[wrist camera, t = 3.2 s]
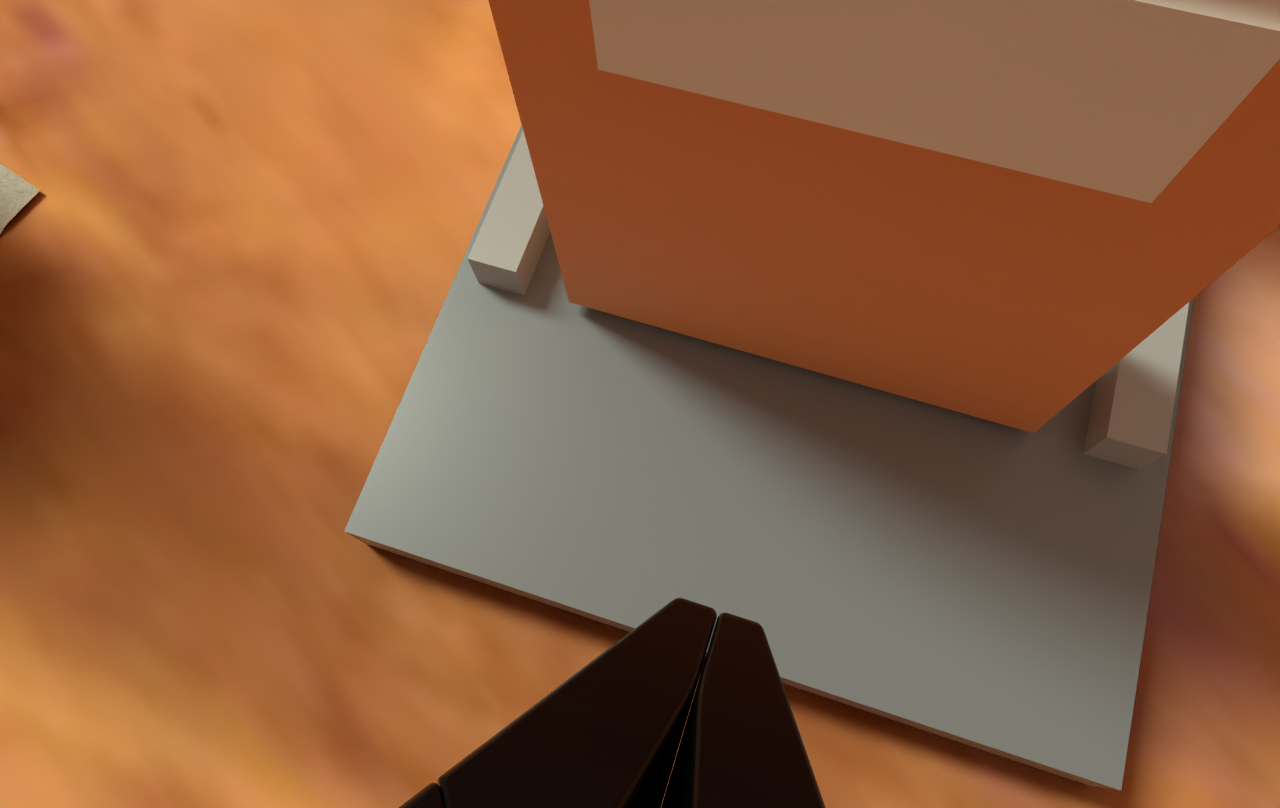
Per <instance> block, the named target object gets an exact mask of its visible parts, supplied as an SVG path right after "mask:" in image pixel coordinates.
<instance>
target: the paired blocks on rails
mask: <svg viewBox="0 0 1280 808" xmlns="http://www.w3.org/2000/svg"><path fill="white" fill-rule="evenodd" d="M1193 303H1194V298H1193V299H1192V300H1191V301H1190V302H1188V303H1187V304H1186V305H1185V306H1184V307H1182V308H1181V309H1180V310H1179V311H1178V312H1177V313H1175V314H1174V315H1173V316H1172V317H1171V318H1169V319H1168V320H1167V321H1166V322H1165V323H1164V324H1162V325H1161V326H1160V327H1159V328H1158V329H1156V330H1155V331H1154V332H1153V333H1152V334H1151V335H1149V336H1148V337H1147V338H1146V339H1145V340H1143V341H1142V342H1141V343H1140V344H1139V345H1138V346H1136V347H1135V348H1134V349H1133V350H1132V351H1130V352H1129V353H1128V354H1127V355H1126V356H1125V357H1123V358H1122V359H1121V360H1120V361H1119V362H1117V363H1116V364H1115V365H1114V366H1113V367H1112V368H1110V369H1109V370H1108V371H1107V372H1106V373H1104V374H1103V375H1102V376H1101V377H1100V378H1099V379H1097V380H1096V381H1095V382H1094V383H1093V384H1091V385H1090V386H1089V387H1088V388H1087V389H1086V390H1084V391H1083V392H1082V393H1081V394H1080V395H1078V396H1077V397H1076V398H1075V399H1074V400H1073V401H1071V402H1070V403H1069V404H1068V405H1067V406H1065V407H1064V408H1063V409H1062V410H1061V411H1060V412H1058V413H1057V414H1056V415H1055V416H1054V417H1052V418H1051V419H1050V420H1049V421H1048V422H1047V423H1045V424H1044V425H1043V426H1042V427H1041V428H1039V429H1038V430H1037V431H1036V432H1035V433H1031V432H1028V431H1024V430H1020V429H1017V428H1013V427H1010V426H1006V425H1003V424H999V423H996V422H992V421H989V420H985V419H981V418H978V417H974V416H971V415H967V414H964V413H960V412H957V411H953V410H950V409H946V408H942V407H939V406H935V405H932V404H928V403H925V402H921V401H918V400H914V399H911V398H907V397H904V396H900V395H896V394H893V393H889V392H886V391H882V390H879V389H875V388H872V387H868V386H865V385H861V384H857V383H854V382H850V381H847V380H843V379H840V378H836V377H833V376H829V375H826V374H822V373H818V372H815V371H811V370H808V369H804V368H801V367H797V366H794V365H790V364H787V363H783V362H779V361H776V360H772V359H769V358H765V357H762V356H758V355H755V354H751V353H748V352H744V351H741V350H737V349H733V348H730V347H726V346H723V345H719V344H716V343H712V342H709V341H705V340H702V339H698V338H694V337H691V336H687V335H684V334H680V333H677V332H673V331H670V330H666V329H663V328H659V327H655V326H652V325H648V324H645V323H641V322H638V321H634V320H631V319H627V318H624V317H620V316H616V315H613V314H609V313H606V312H602V311H599V310H595V309H592V308H588V307H585V306H581V305H578V304H574V303H570V302H569V299H568V295H567V291H566V288H565V284H564V280H563V277H562V273H561V269H560V265H559V262H558V258H557V254H556V250H555V247H554V243H553V239H552V235H551V232H550V228H549V224H548V220H547V217H546V213H545V209H544V206H543V202H542V198H541V194H540V191H539V187H538V183H537V179H536V176H535V172H534V168H533V164H532V161H531V157H530V153H529V149H528V146H527V142H526V138H525V135H524V131H523V127H522V125H521V128H520V130H519V132H518V135H517V137H516V139H515V141H514V144H513V146H512V148H511V151H510V153H509V155H508V157H507V160H506V162H505V164H504V167H503V169H502V171H501V173H500V176H499V178H498V180H497V183H496V185H495V187H494V190H493V192H492V194H491V196H490V199H489V201H488V203H487V206H486V208H485V210H484V212H483V215H482V217H481V219H480V222H479V224H478V226H477V228H476V231H475V233H474V235H473V238H472V240H471V242H470V244H469V247H468V249H467V251H466V254H465V256H464V258H463V260H462V263H461V265H460V267H459V270H458V272H457V274H456V277H455V279H454V281H453V283H452V286H451V288H450V290H449V293H448V295H447V297H446V299H445V302H444V304H443V306H442V309H441V311H440V313H439V315H438V318H437V320H436V322H435V325H434V327H433V329H432V331H431V334H430V336H429V338H428V341H427V343H426V345H425V347H424V350H423V352H422V354H421V357H420V359H419V361H418V363H417V366H416V368H415V370H414V373H413V375H412V377H411V380H410V382H409V384H408V386H407V389H406V391H405V393H404V396H403V398H402V400H401V402H400V405H399V407H398V409H397V412H396V414H395V416H394V418H393V421H392V423H391V425H390V428H389V430H388V432H387V434H386V437H385V439H384V441H383V444H382V446H381V448H380V450H379V453H378V455H377V457H376V460H375V462H374V464H373V467H372V469H371V471H370V473H369V476H368V478H367V480H366V483H365V485H364V487H363V489H362V492H361V494H360V496H359V499H358V501H357V503H356V505H355V508H354V510H353V512H352V515H351V517H350V519H349V521H348V524H347V526H346V528H345V532H346V533H348V534H350V535H351V536H353V537H355V538H357V539H358V540H360V541H362V542H363V543H365V544H368V545H371V546H374V547H377V548H380V549H383V550H386V551H389V552H392V553H395V554H398V555H401V556H404V557H407V558H410V559H413V560H416V561H419V562H422V563H425V564H428V565H431V566H434V567H437V568H440V569H443V570H446V571H449V572H452V573H455V574H457V575H460V576H463V577H466V578H469V579H472V580H475V581H478V582H481V583H484V584H487V585H490V586H493V587H496V588H499V589H502V590H505V591H508V592H511V593H514V594H517V595H520V596H523V597H526V598H529V599H532V600H535V601H538V602H541V603H544V604H547V605H550V606H553V607H556V608H559V609H562V610H565V611H568V612H571V613H574V614H577V615H580V616H583V617H586V618H589V619H592V620H595V621H598V622H601V623H604V624H607V625H610V626H613V627H616V628H619V629H622V630H625V631H628V632H631V631H633V630H634V629H635V628H637V627H638V626H639V625H640V624H642V623H643V622H644V621H646V620H647V619H648V618H650V617H651V616H652V615H654V614H655V613H656V612H658V611H659V610H660V609H662V608H663V607H664V606H665V605H667V604H668V603H669V602H671V601H672V600H674V599H676V598H684V599H687V600H690V601H693V602H696V603H699V604H702V605H705V606H708V607H711V608H713V609H714V610H715V611H716V613H717V618H718V616H719V615H720V614H721V613H724V612H726V613H730V614H733V615H736V616H739V617H742V618H745V619H748V620H751V621H754V622H757V623H759V624H760V625H761V626H762V627H763V629H764V632H765V635H766V637H767V640H768V643H769V646H770V649H771V652H772V655H773V658H774V661H775V663H776V666H777V669H778V672H779V675H780V678H781V681H782V683H783V684H786V685H789V686H792V687H795V688H798V689H801V690H804V691H807V692H810V693H813V694H816V695H819V696H822V697H825V698H828V699H831V700H834V701H837V702H840V703H843V704H846V705H849V706H852V707H855V708H858V709H861V710H864V711H867V712H870V713H873V714H876V715H879V716H882V717H885V718H888V719H891V720H894V721H897V722H900V723H903V724H906V725H909V726H912V727H915V728H918V729H921V730H924V731H927V732H930V733H933V734H936V735H939V736H942V737H945V738H948V739H951V740H954V741H957V742H960V743H963V744H966V745H969V746H971V747H974V748H977V749H980V750H983V751H986V752H989V753H992V754H995V755H998V756H1001V757H1004V758H1007V759H1010V760H1013V761H1016V762H1019V763H1022V764H1025V765H1028V766H1031V767H1034V768H1037V769H1040V770H1043V771H1046V772H1049V773H1052V774H1055V775H1058V776H1061V777H1064V778H1067V779H1070V780H1073V781H1076V782H1079V783H1082V784H1085V785H1088V786H1092V787H1099V788H1106V789H1113V790H1121V789H1122V782H1123V776H1124V769H1125V762H1126V755H1127V749H1128V742H1129V735H1130V728H1131V722H1132V715H1133V708H1134V701H1135V695H1136V688H1137V681H1138V674H1139V668H1140V661H1141V654H1142V647H1143V641H1144V634H1145V627H1146V620H1147V614H1148V607H1149V600H1150V593H1151V587H1152V580H1153V573H1154V566H1155V560H1156V553H1157V546H1158V539H1159V533H1160V526H1161V519H1162V512H1163V506H1164V499H1165V492H1166V485H1167V479H1168V472H1169V465H1170V458H1171V452H1172V445H1173V438H1174V431H1175V425H1176V418H1177V411H1178V404H1179V398H1180V391H1181V384H1182V377H1183V371H1184V364H1185V357H1186V350H1187V344H1188V337H1189V330H1190V323H1191V317H1192V310H1193ZM716 621H717V619H716ZM715 624H716V622H715ZM714 627H715V625H714ZM713 631H714V629H713ZM712 634H713V632H712ZM711 638H712V636H711ZM710 641H711V639H710ZM709 644H710V642H709ZM708 648H709V646H708ZM707 651H708V649H707ZM706 654H707V652H706ZM705 657H706V656H705Z"/></svg>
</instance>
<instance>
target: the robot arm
mask: <svg viewBox="0 0 1280 808" xmlns="http://www.w3.org/2000/svg"><path fill="white" fill-rule="evenodd" d="M716 619H717V621H716ZM715 622H716V624H715ZM714 625H715V627H714ZM713 629H714V631H713ZM712 632H713V634H712ZM711 636H712V638H711ZM710 639H711V641H710ZM709 642H710V644H709ZM708 646H709V648H708ZM707 649H708V651H707ZM706 652H707V654H706ZM705 656H706V658H705ZM704 659H705V661H704ZM703 663H704V665H703ZM702 666H703V668H702ZM701 669H702V671H701ZM700 673H701V675H700ZM699 676H700V678H699ZM698 679H699V681H698ZM697 683H698V685H697ZM696 686H697V688H696ZM695 690H696V692H695ZM694 693H695V695H694ZM693 696H694V698H693ZM692 700H693V702H692ZM691 703H692V705H691ZM690 707H691V708H690ZM689 710H690V712H689ZM688 713H689V715H688ZM687 717H688V719H687ZM686 720H687V722H686ZM685 723H686V725H685ZM684 727H685V729H684ZM683 730H684V732H683ZM682 734H683V736H682ZM681 737H682V739H681ZM680 740H681V742H680ZM679 744H680V746H679ZM678 747H679V749H678ZM677 750H678V752H677ZM676 754H677V756H676ZM675 757H676V759H675ZM674 761H675V763H674ZM673 764H674V766H673ZM672 767H673V769H672ZM671 771H672V773H671ZM670 774H671V776H670ZM669 777H670V779H669ZM668 781H669V783H668ZM667 784H668V786H667ZM666 788H667V790H666ZM665 791H666V793H665ZM664 794H665V796H664ZM663 798H664V800H663ZM662 801H663V803H662ZM661 804H662V807H661ZM399 808H825V805H824V802H823V799H822V796H821V793H820V791H819V788H818V785H817V782H816V779H815V776H814V773H813V770H812V767H811V765H810V762H809V759H808V756H807V753H806V750H805V747H804V744H803V741H802V739H801V736H800V733H799V730H798V727H797V724H796V721H795V718H794V715H793V713H792V710H791V707H790V704H789V701H788V698H787V695H786V692H785V689H784V687H783V684H782V681H781V678H780V675H779V672H778V669H777V666H776V663H775V661H774V658H773V655H772V652H771V649H770V646H769V643H768V640H767V637H766V635H765V632H764V629H763V627H762V626H761V625H760V624H759V623H757V622H754V621H751V620H748V619H745V618H742V617H739V616H736V615H733V614H730V613H726V612H724V613H721V614H720V615H719V616H718V618H717V613H716V611H715V610H714V609H713V608H711V607H708V606H705V605H702V604H699V603H696V602H693V601H690V600H687V599H684V598H676V599H674V600H672V601H671V602H669V603H668V604H667V605H665V606H664V607H663V608H662V609H660V610H659V611H658V612H656V613H655V614H654V615H652V616H651V617H650V618H648V619H647V620H646V621H644V622H643V623H642V624H640V625H639V626H638V627H637V628H635V629H634V630H633V631H631V632H630V633H629V634H627V635H626V636H625V637H623V638H622V639H621V640H619V641H618V642H617V643H615V644H614V645H613V646H612V647H610V648H609V649H608V650H606V651H605V652H604V653H602V654H601V655H600V656H598V657H597V658H596V659H594V660H593V661H592V662H591V663H589V664H588V665H587V666H585V667H584V668H583V669H581V670H580V671H579V672H577V673H576V674H575V675H573V676H572V677H571V678H569V679H568V680H567V681H566V682H564V683H563V684H562V685H560V686H559V687H558V688H556V689H555V690H554V691H552V692H551V693H550V694H548V695H547V696H546V697H544V698H543V699H542V700H541V701H539V702H538V703H537V704H535V705H534V706H533V707H531V708H530V709H529V710H527V711H526V712H525V713H523V714H522V715H521V716H519V717H518V718H517V719H516V720H514V721H513V722H512V723H510V724H509V725H508V726H506V727H505V728H504V729H502V730H501V731H500V732H498V733H497V734H496V735H494V736H493V737H492V738H491V739H489V740H488V741H487V742H485V743H484V744H483V745H481V746H480V747H479V748H477V749H476V750H475V751H473V752H472V753H471V754H469V755H468V756H467V757H466V758H464V759H463V760H462V761H460V762H459V763H458V764H456V765H455V766H454V767H452V768H451V769H450V770H448V771H447V772H446V773H445V774H443V775H442V776H441V777H440V778H439V779H438V783H437V784H436V783H431V784H429V785H428V786H427V787H425V788H424V789H423V790H421V791H420V792H419V793H418V794H416V795H415V796H414V797H412V798H411V799H410V800H408V801H407V802H406V803H404V804H403V805H402V806H401V807H399Z"/></svg>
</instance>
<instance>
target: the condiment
mask: <svg viewBox="0 0 1280 808" xmlns="http://www.w3.org/2000/svg"><path fill="white" fill-rule="evenodd" d="M39 191H40V190H39V189H37V188H36V187H34V186H33V185H31V184H30V183H28V182H27V181H25V180H24V179H22V178H21V177H20V176H18V175H17V174H15V173H14V172H12V171H11V170H9V169H8V168H6V167H4V166H3V165H1V164H0V234H1V232H2V231H3V229H4V227H5V226H6V225H7V223H8V222H9V221H10V220H11V219H12V218H13V217H14V216H15V215H16V214H17V213H18V212H19V211H20V210H21V209H22V208H23V207H24V206H25V205H26V204H27V203H28V202H29V201H30V200H31V199H32V198H33V197H34V196H35V195H36V194H37V193H38V192H39Z"/></svg>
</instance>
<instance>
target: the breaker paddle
mask: <svg viewBox="0 0 1280 808" xmlns="http://www.w3.org/2000/svg"><path fill="white" fill-rule="evenodd" d="M489 4H490V8H491V11H492V15H493V19H494V22H495V26H496V30H497V34H498V37H499V41H500V45H501V49H502V52H503V56H504V60H505V64H506V67H507V71H508V75H509V79H510V82H511V86H512V90H513V93H514V97H515V101H516V105H517V108H518V112H519V116H520V120H521V123H522V127H523V131H524V135H525V138H526V142H527V146H528V149H529V153H530V157H531V161H532V164H533V168H534V172H535V176H536V179H537V183H538V187H539V191H540V194H541V198H542V202H543V206H544V209H545V213H546V217H547V220H548V224H549V228H550V232H551V235H552V239H553V243H554V247H555V250H556V254H557V258H558V262H559V265H560V269H561V273H562V277H563V280H564V284H565V288H566V291H567V295H568V299H569V302H570V303H574V304H578V305H581V306H585V307H588V308H592V309H595V310H599V311H602V312H606V313H609V314H613V315H616V316H620V317H624V318H627V319H631V320H634V321H638V322H641V323H645V324H648V325H652V326H655V327H659V328H663V329H666V330H670V331H673V332H677V333H680V334H684V335H687V336H691V337H694V338H698V339H702V340H705V341H709V342H712V343H716V344H719V345H723V346H726V347H730V348H733V349H737V350H741V351H744V352H748V353H751V354H755V355H758V356H762V357H765V358H769V359H772V360H776V361H779V362H783V363H787V364H790V365H794V366H797V367H801V368H804V369H808V370H811V371H815V372H818V373H822V374H826V375H829V376H833V377H836V378H840V379H843V380H847V381H850V382H854V383H857V384H861V385H865V386H868V387H872V388H875V389H879V390H882V391H886V392H889V393H893V394H896V395H900V396H904V397H907V398H911V399H914V400H918V401H921V402H925V403H928V404H932V405H935V406H939V407H942V408H946V409H950V410H953V411H957V412H960V413H964V414H967V415H971V416H974V417H978V418H981V419H985V420H989V421H992V422H996V423H999V424H1003V425H1006V426H1010V427H1013V428H1017V429H1020V430H1024V431H1028V432H1031V433H1035V432H1036V431H1037V430H1038V429H1039V428H1041V427H1042V426H1043V425H1044V424H1045V423H1047V422H1048V421H1049V420H1050V419H1051V418H1052V417H1054V416H1055V415H1056V414H1057V413H1058V412H1060V411H1061V410H1062V409H1063V408H1064V407H1065V406H1067V405H1068V404H1069V403H1070V402H1071V401H1073V400H1074V399H1075V398H1076V397H1077V396H1078V395H1080V394H1081V393H1082V392H1083V391H1084V390H1086V389H1087V388H1088V387H1089V386H1090V385H1091V384H1093V383H1094V382H1095V381H1096V380H1097V379H1099V378H1100V377H1101V376H1102V375H1103V374H1104V373H1106V372H1107V371H1108V370H1109V369H1110V368H1112V367H1113V366H1114V365H1115V364H1116V363H1117V362H1119V361H1120V360H1121V359H1122V358H1123V357H1125V356H1126V355H1127V354H1128V353H1129V352H1130V351H1132V350H1133V349H1134V348H1135V347H1136V346H1138V345H1139V344H1140V343H1141V342H1142V341H1143V340H1145V339H1146V338H1147V337H1148V336H1149V335H1151V334H1152V333H1153V332H1154V331H1155V330H1156V329H1158V328H1159V327H1160V326H1161V325H1162V324H1164V323H1165V322H1166V321H1167V320H1168V319H1169V318H1171V317H1172V316H1173V315H1174V314H1175V313H1177V312H1178V311H1179V310H1180V309H1181V308H1182V307H1184V306H1185V305H1186V304H1187V303H1188V302H1190V301H1191V300H1192V299H1193V298H1194V297H1195V296H1197V295H1198V294H1199V293H1200V292H1201V291H1203V290H1204V289H1205V288H1206V287H1207V286H1208V285H1210V284H1211V283H1212V282H1213V281H1214V280H1216V279H1217V278H1218V277H1219V276H1220V275H1221V274H1223V273H1224V272H1225V271H1226V270H1227V269H1229V268H1230V267H1231V266H1232V265H1233V264H1234V263H1236V262H1237V261H1238V260H1239V259H1240V258H1242V257H1243V256H1244V255H1245V254H1246V253H1247V252H1249V251H1250V250H1251V249H1252V248H1253V247H1255V246H1256V245H1257V244H1258V243H1259V242H1260V241H1262V240H1263V239H1264V238H1265V237H1266V236H1268V235H1269V234H1270V233H1271V232H1272V231H1273V230H1275V229H1276V228H1277V227H1278V226H1279V225H1280V0H489Z"/></svg>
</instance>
